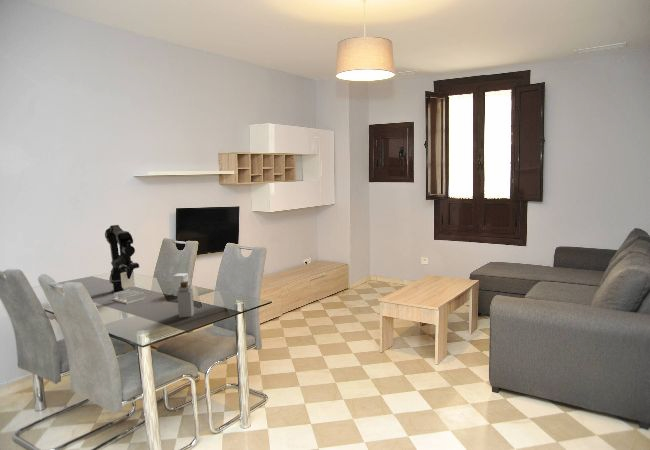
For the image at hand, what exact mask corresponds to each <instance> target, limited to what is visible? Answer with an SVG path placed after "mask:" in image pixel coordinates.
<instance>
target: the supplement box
mask: <svg viewBox="0 0 650 450" xmlns="http://www.w3.org/2000/svg"><path fill="white" fill-rule="evenodd" d="M189 277H190V276H189V273H187V272H186V273H180V272H179V273H176V274H174V275H172V289H173V290H172V291H173V296H174V297H177V292H178V291H179V289H178V288H179V287H180V286H181V284H180V283H181V282H188V285H190V281H189V280H190V279H189Z"/></svg>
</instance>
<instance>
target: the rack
mask: <svg viewBox="0 0 650 450" xmlns="http://www.w3.org/2000/svg"><path fill="white" fill-rule="evenodd" d="M145 299H146V296H145V292H144V291H143V292H140V290H139V291H136V290H135V289H133V290H132V289H131V288H129V289H124V291H120V292H116V293H115V292H113V298H112V300H113V301H116V302H120V303H122V304H126V305H128V304H131V303H135V302H139V301H142V300H145Z"/></svg>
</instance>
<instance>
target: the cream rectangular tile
mask: <svg viewBox="0 0 650 450" xmlns="http://www.w3.org/2000/svg"><path fill="white" fill-rule="evenodd" d="M134 273H135V272H134V271H133V272H132V274H131V277H130V279H128V278H127V273H126V272H123V273H121V284H122V288H123V289H127V288H131V287H135V286H136V285H135V274H134Z"/></svg>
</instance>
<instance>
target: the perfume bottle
mask: <svg viewBox="0 0 650 450" xmlns="http://www.w3.org/2000/svg"><path fill="white" fill-rule="evenodd" d="M180 284H181V286H180V287H179V288H178V289H179V291H178V292H177V296H176V298H177V310H178V311H177V312H178V318H189V317H193V316H194V313H195V307H194V305H195V304H194V294H193V288H191V284H189V285H188V282H181V283H180Z"/></svg>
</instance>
